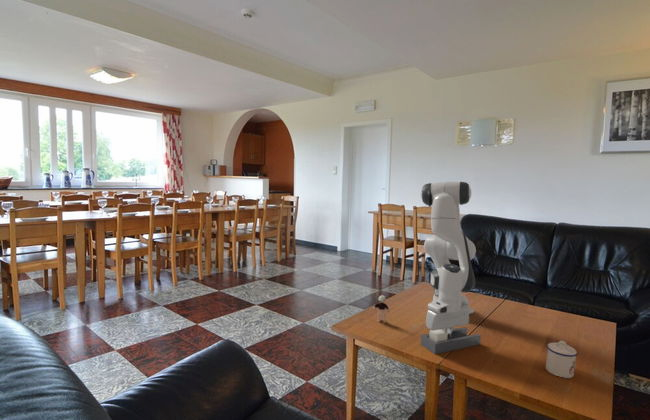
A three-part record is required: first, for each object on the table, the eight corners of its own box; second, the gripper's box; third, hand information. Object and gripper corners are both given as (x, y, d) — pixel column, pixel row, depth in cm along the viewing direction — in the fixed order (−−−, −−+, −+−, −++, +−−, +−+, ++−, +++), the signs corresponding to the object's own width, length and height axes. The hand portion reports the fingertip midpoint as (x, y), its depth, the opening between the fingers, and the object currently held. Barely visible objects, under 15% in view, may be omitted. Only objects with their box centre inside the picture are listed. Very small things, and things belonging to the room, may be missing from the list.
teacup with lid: (575, 381, 126) (579, 349, 124) (545, 373, 130) (548, 343, 129) (572, 366, 136) (575, 337, 135) (544, 359, 140) (547, 331, 139)
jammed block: (438, 340, 151) (439, 328, 150) (446, 345, 146) (447, 333, 146) (428, 342, 149) (429, 330, 148) (437, 347, 144) (437, 335, 144)
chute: (464, 335, 159) (464, 326, 159) (480, 344, 151) (480, 335, 151) (420, 344, 150) (421, 335, 149) (434, 354, 142) (435, 344, 141)
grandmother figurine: (388, 320, 173) (390, 294, 172) (389, 323, 169) (390, 297, 168) (372, 319, 174) (373, 293, 173) (372, 322, 170) (374, 296, 169)
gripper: (462, 299, 155) (460, 330, 156) (424, 304, 146) (422, 337, 148) (473, 304, 149) (471, 336, 150) (435, 310, 141) (432, 344, 142)
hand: (446, 336), depth 149 cm, fingers closed
